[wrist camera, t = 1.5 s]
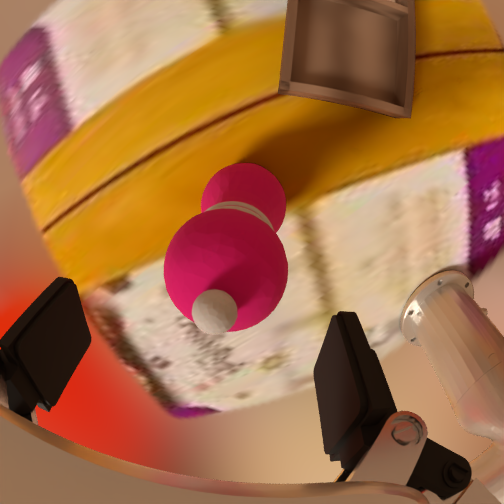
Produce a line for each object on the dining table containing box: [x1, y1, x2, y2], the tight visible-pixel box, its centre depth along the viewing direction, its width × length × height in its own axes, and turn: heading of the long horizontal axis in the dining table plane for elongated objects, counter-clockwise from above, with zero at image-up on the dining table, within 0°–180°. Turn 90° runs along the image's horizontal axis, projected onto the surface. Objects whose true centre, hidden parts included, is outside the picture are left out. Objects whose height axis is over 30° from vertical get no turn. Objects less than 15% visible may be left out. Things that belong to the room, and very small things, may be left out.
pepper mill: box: [164, 163, 288, 334], centre depth 19 cm, size 7×7×20 cm
